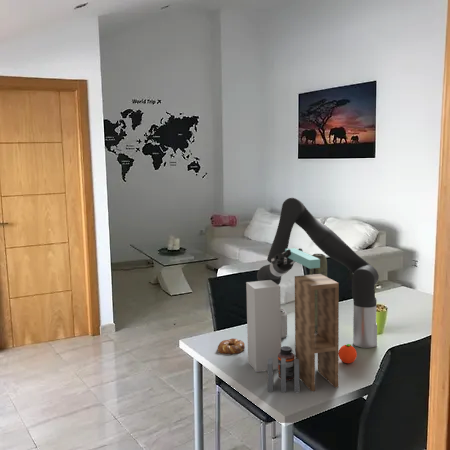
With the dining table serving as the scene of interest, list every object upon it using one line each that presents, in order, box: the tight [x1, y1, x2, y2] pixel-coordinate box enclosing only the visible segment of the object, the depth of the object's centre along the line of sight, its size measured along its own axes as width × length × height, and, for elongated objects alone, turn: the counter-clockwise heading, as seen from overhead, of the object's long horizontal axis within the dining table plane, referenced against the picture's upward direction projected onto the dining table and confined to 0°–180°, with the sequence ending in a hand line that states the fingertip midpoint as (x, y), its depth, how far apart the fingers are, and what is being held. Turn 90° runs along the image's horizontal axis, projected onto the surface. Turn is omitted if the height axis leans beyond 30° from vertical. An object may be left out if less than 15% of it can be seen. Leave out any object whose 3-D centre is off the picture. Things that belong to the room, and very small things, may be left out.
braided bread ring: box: [217, 338, 246, 355], centre depth 210 cm, size 12×11×4 cm
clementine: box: [338, 343, 358, 364], centre depth 194 cm, size 8×7×7 cm
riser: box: [245, 280, 282, 373], centre depth 192 cm, size 10×10×32 cm
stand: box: [294, 274, 340, 392], centre depth 177 cm, size 14×10×37 cm
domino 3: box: [293, 359, 300, 394], centre depth 173 cm, size 2×5×10 cm, turn 173°
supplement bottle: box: [277, 345, 295, 382], centre depth 182 cm, size 6×6×11 cm
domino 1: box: [267, 358, 274, 393], centre depth 174 cm, size 2×5×10 cm, turn 173°
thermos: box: [309, 253, 328, 334], centre depth 229 cm, size 9×12×35 cm
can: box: [281, 308, 288, 339], centre depth 224 cm, size 8×8×12 cm
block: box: [285, 247, 320, 270], centre depth 185 cm, size 22×4×3 cm, turn 16°
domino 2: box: [280, 358, 287, 393], centre depth 174 cm, size 2×5×10 cm, turn 173°
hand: (295, 251), depth 191 cm, fingers closed on block, 4 cm apart
